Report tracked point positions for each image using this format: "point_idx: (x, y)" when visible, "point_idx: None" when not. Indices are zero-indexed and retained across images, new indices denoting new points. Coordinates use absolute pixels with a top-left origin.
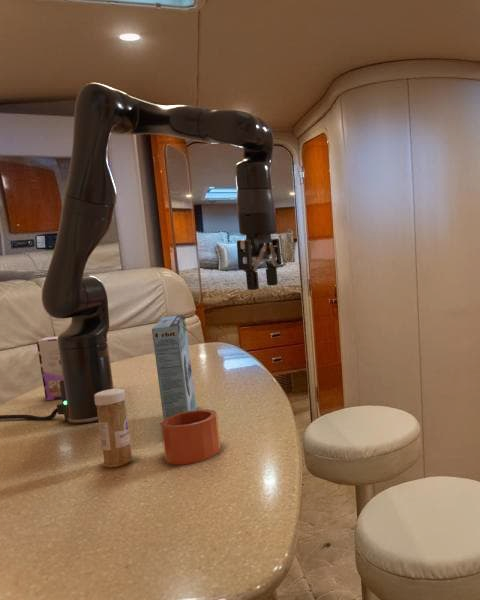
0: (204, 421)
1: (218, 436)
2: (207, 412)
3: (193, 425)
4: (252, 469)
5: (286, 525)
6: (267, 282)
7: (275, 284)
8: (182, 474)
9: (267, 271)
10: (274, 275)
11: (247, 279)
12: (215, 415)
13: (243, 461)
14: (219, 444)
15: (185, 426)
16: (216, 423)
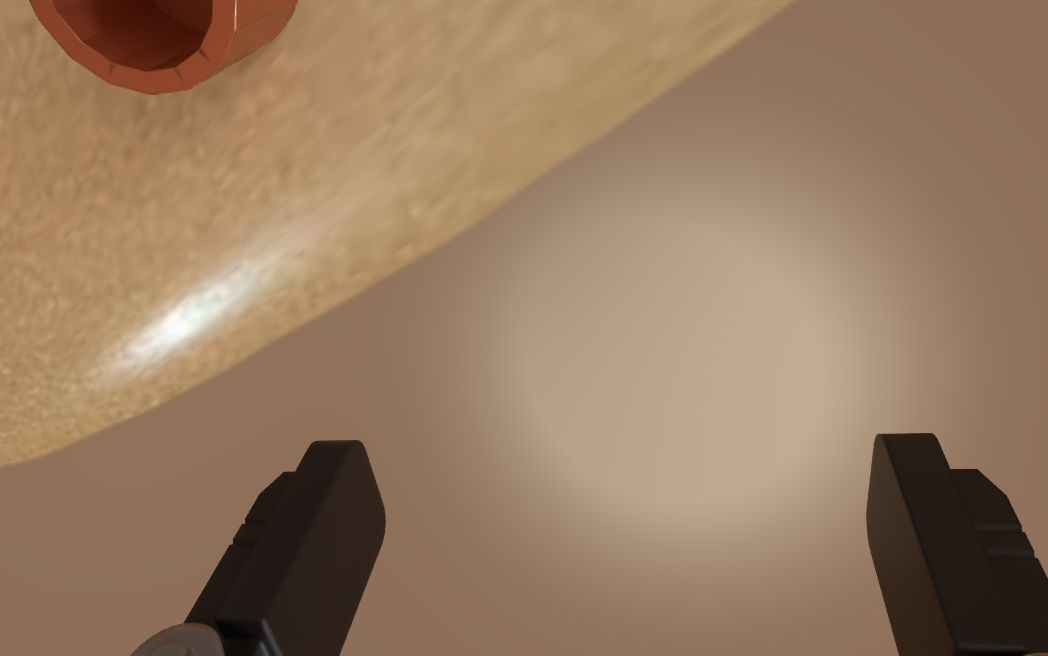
0: (127, 87)
1: (245, 55)
2: (214, 5)
3: (85, 65)
4: (206, 246)
5: (67, 436)
6: (883, 460)
7: (870, 528)
8: None
9: (936, 625)
10: (900, 641)
11: (229, 561)
12: (191, 87)
13: (234, 188)
14: (262, 45)
15: (58, 42)
16: (209, 77)
